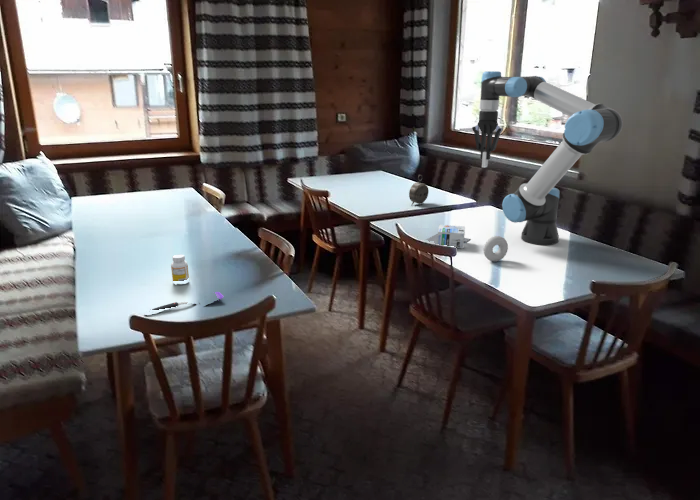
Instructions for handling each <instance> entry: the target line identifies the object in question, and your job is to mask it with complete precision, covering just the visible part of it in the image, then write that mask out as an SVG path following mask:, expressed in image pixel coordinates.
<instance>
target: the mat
mask: <svg viewBox="0 0 700 500" xmlns="http://www.w3.org/2000/svg"><path fill="white" fill-rule="evenodd" d="M437 239H438V233H436V234H434V235H432V236H430V237H428V238H426V239H425V240H428V241H429V242H430V241H434V243H435V244H437ZM469 241H471V239H470V238H468V237H464V244H465V243H467V242H469Z"/></svg>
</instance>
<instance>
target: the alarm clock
mask: <svg viewBox="0 0 700 500" xmlns="http://www.w3.org/2000/svg"><path fill="white" fill-rule="evenodd" d="M420 176H421V177H423V175H422V174H418V177H417V182H414V183H413V184H412V185H411V187H410V188H409V190H408V191H409V192H408V195H409V196H408V197H409V200H410V201H411V206H413V205H414V203H415V204H419V205H421V206H423V204H424V202H425V201H426V200H427V199H428V197H429V187H428V185H427V184H426V183H423V182H422V180H423V178H421V179H420V178H419V177H420Z"/></svg>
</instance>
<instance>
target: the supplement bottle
mask: <svg viewBox="0 0 700 500" xmlns="http://www.w3.org/2000/svg"><path fill="white" fill-rule="evenodd" d="M170 268H171V277H172V282H173V281H184V280H187V279H188V278H189V279H190V275H189V267H188V262H187V260H186V256H185V254H175V255H173V256H172V262H171V264H170Z"/></svg>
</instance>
